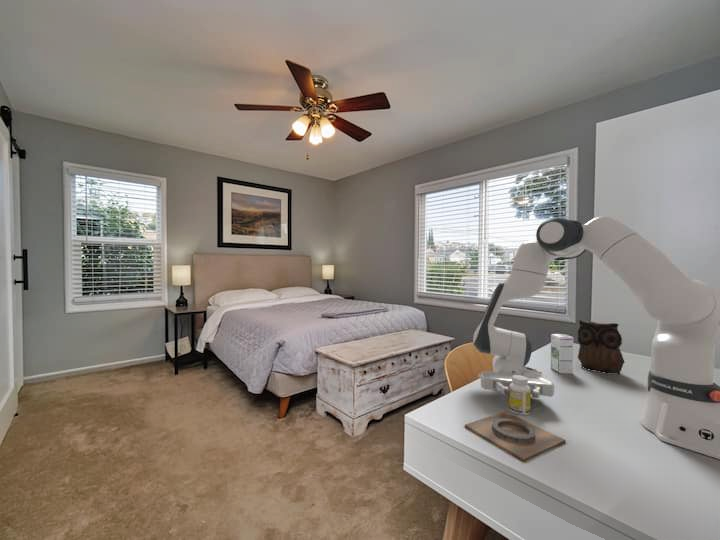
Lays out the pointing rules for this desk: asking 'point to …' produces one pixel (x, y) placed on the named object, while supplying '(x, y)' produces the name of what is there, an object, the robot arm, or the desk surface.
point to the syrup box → (562, 353)
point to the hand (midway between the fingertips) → (520, 393)
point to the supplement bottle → (519, 395)
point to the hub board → (515, 435)
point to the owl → (600, 346)
